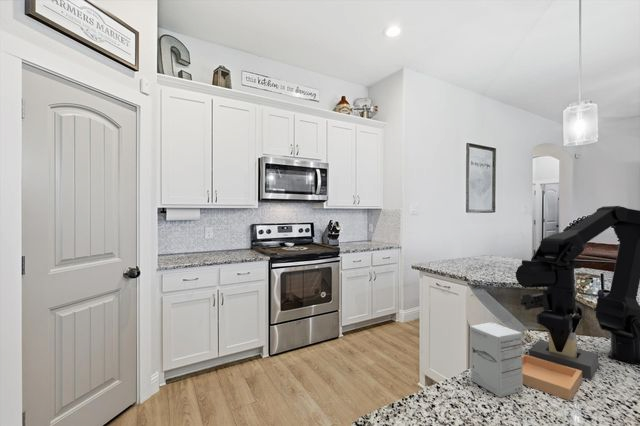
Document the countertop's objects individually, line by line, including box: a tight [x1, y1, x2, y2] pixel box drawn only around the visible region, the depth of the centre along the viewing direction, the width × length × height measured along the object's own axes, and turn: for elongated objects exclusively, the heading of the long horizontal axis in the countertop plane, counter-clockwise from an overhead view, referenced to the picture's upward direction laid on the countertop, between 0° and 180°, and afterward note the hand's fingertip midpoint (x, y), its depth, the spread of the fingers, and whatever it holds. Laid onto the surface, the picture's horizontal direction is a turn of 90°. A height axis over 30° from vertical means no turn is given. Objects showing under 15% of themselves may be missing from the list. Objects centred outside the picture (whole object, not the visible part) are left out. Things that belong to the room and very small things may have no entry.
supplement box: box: [469, 321, 524, 398], centre depth 65 cm, size 7×7×13 cm
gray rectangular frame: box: [528, 339, 600, 381], centre depth 75 cm, size 10×12×3 cm
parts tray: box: [522, 353, 583, 402], centre depth 68 cm, size 12×12×2 cm
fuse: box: [548, 330, 578, 358], centre depth 75 cm, size 3×5×8 cm, turn 40°
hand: (562, 347), depth 75 cm, fingers open, 7 cm apart
